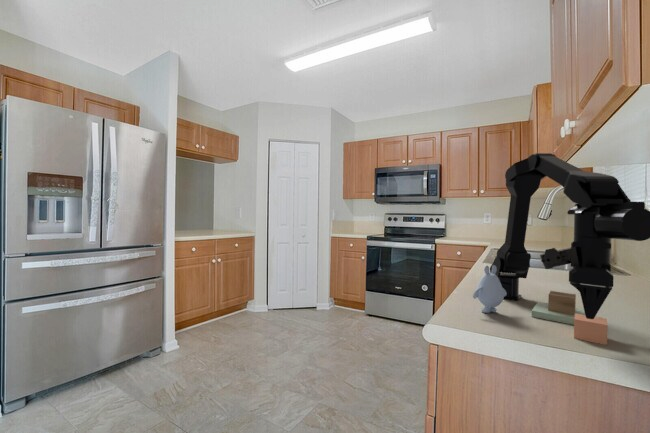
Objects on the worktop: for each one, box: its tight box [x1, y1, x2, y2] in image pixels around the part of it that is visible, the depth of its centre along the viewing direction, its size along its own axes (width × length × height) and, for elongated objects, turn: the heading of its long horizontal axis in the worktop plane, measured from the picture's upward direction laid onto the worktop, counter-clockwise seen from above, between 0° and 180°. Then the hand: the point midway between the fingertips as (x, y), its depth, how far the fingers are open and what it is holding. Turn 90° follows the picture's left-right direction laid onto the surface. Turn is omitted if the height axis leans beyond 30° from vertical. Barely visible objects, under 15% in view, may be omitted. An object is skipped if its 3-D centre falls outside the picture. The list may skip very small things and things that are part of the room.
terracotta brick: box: [573, 314, 608, 346], centre depth 63 cm, size 5×5×4 cm
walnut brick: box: [547, 290, 577, 315], centre depth 76 cm, size 5×5×4 cm
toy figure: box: [472, 265, 507, 314], centre depth 79 cm, size 11×6×12 cm, turn 108°
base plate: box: [531, 301, 585, 326], centre depth 76 cm, size 11×11×2 cm
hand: (590, 313), depth 63 cm, fingers open, 9 cm apart
